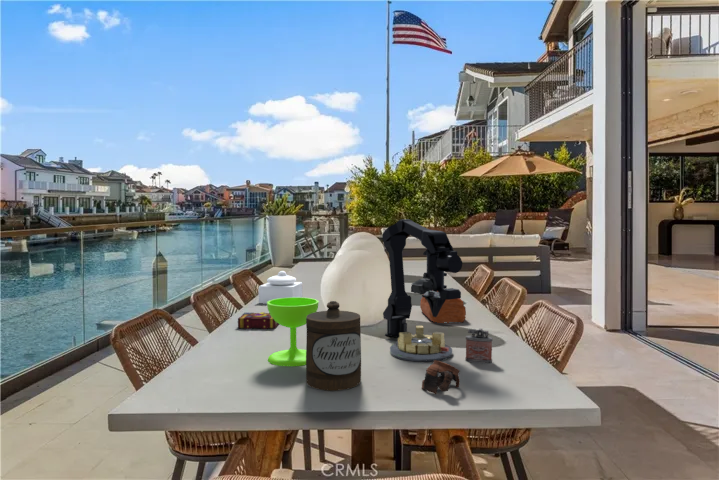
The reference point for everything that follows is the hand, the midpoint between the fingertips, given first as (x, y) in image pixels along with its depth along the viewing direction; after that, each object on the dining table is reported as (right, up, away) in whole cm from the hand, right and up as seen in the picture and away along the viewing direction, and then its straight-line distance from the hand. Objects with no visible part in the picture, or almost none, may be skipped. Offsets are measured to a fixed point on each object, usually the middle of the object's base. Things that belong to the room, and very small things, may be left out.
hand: (434, 316), depth 171 cm
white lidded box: (-65, -6, +94) cm, 114 cm away
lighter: (+12, -12, -12) cm, 21 cm away
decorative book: (-66, -10, +37) cm, 76 cm away
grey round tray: (-5, -11, -3) cm, 13 cm away
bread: (+11, -8, +55) cm, 57 cm away
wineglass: (-45, -12, -9) cm, 48 cm away
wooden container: (-32, -13, -31) cm, 46 cm away
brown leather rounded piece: (-4, -14, -37) cm, 39 cm away
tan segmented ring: (-4, -10, -3) cm, 11 cm away
